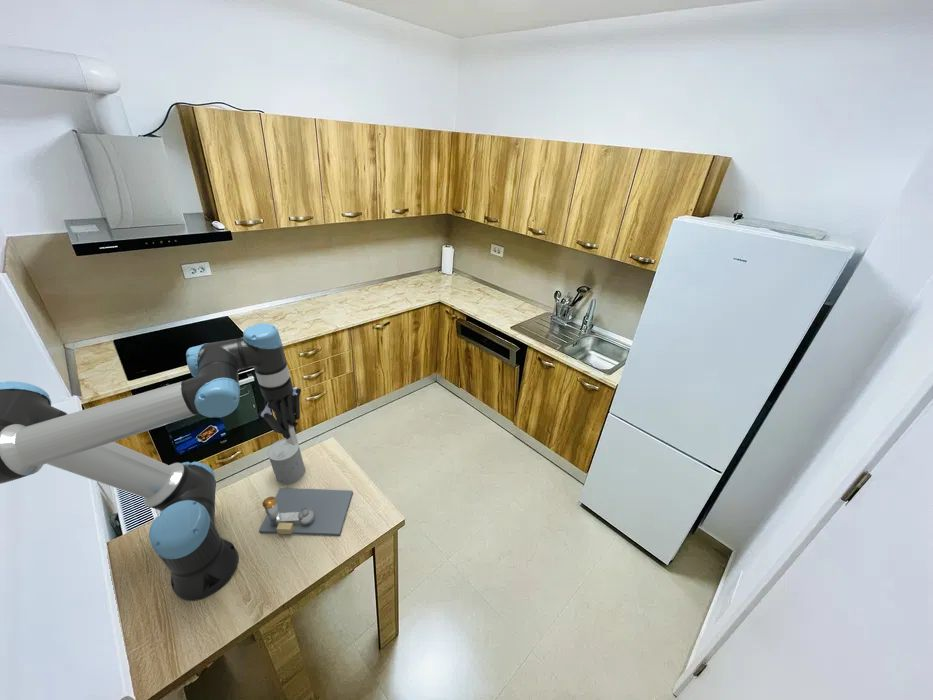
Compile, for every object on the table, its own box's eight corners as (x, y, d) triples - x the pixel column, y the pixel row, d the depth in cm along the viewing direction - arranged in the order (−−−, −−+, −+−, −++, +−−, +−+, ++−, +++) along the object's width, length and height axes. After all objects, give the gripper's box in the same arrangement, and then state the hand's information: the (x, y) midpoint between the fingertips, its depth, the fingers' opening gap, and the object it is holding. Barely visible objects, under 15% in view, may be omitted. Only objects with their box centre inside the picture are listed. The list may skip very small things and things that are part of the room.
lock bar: (316, 512, 116) (311, 493, 110) (313, 525, 112) (307, 506, 107) (272, 515, 114) (265, 495, 109) (268, 528, 111) (260, 509, 105)
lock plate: (258, 535, 110) (254, 524, 107) (280, 490, 123) (277, 479, 120) (339, 537, 111) (337, 527, 108) (352, 492, 124) (351, 482, 121)
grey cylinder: (270, 475, 128) (261, 450, 121) (294, 458, 135) (288, 434, 128) (286, 489, 124) (278, 465, 117) (311, 471, 130) (304, 447, 124)
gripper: (282, 363, 103) (298, 424, 116) (242, 389, 93) (265, 453, 105) (304, 370, 101) (317, 432, 114) (265, 398, 90) (285, 462, 103)
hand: (292, 442), depth 109 cm, fingers closed
